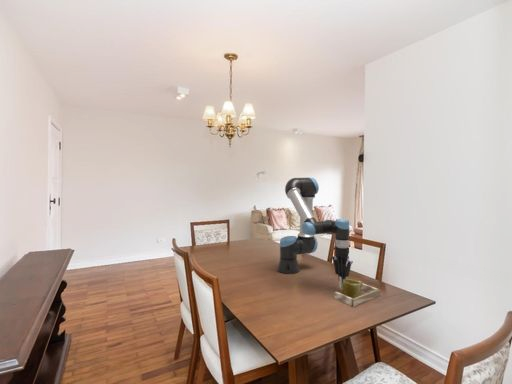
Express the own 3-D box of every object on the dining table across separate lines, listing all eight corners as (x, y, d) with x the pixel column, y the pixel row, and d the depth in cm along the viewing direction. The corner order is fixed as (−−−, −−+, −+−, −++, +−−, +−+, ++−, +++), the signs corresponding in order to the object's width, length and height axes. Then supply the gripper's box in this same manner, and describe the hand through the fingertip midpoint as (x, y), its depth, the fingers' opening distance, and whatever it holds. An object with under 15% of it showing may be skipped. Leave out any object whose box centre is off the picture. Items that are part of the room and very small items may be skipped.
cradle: (334, 298, 149) (334, 291, 149) (360, 288, 161) (360, 282, 161) (353, 306, 139) (353, 300, 139) (380, 295, 151) (380, 289, 151)
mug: (349, 298, 144) (348, 278, 147) (338, 297, 153) (338, 278, 156) (369, 300, 147) (368, 280, 150) (357, 298, 156) (357, 280, 159)
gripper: (328, 245, 161) (328, 285, 162) (347, 250, 150) (346, 292, 151) (337, 243, 165) (337, 282, 166) (356, 247, 154) (355, 289, 155)
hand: (341, 287), depth 158 cm, fingers closed
